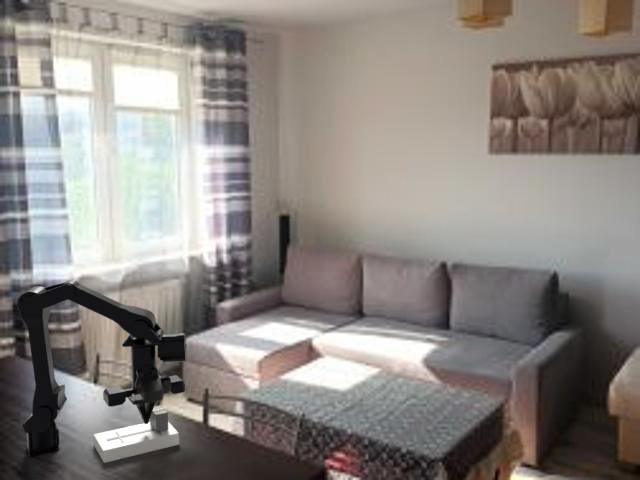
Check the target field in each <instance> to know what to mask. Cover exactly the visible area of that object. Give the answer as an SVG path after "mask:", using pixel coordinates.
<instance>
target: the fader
mask: <svg viewBox="0 0 640 480" xmlns="http://www.w3.org/2000/svg"><path fill="white" fill-rule="evenodd" d="M149 422H150V425H151V426H152V428H153V429H154V430H155V431H156V432H160V431H165V430H168V422H169V412H168V411H167V410H166V408H165V407H164V406H163V405H157V406H154V408H153V410H152V413H151V416H150V419H149Z"/></svg>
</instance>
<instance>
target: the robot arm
mask: <svg viewBox="0 0 640 480" xmlns="http://www.w3.org/2000/svg"><path fill="white" fill-rule="evenodd" d="M65 301H71V302H73V303H74V304H77V305H78V306H81V307H84V308H85V309H88V310H90V311H91V312H94V313H96V314H99V315H100V316H103V317H104V318H107V319H109V320H111V321H113V322H114V323H116V324H117V325H118V326H119V327H120V328H121V329H122V330H124V331H125V332H126V333H127V334H129V335H128V336H127V338H125V340H124V341H123V343H122V345H121V346H122V347H124V348H126V347H127V348H129V347H130V355H131V357H130V358H131V364H130V369H131V378H132V379H131V386H132V387H131V388H127V389H123V387H121V386H120V385H116V386H112V387H107V388H105V389H104V390H103V392H102V396H103V397H102V398H103V401H104V402H105V403H106V405H107V406H108V407H111V408H112V407H116V406H122V405H124V403H125V402H126V401H127V399H128V401H130V403H131V404H132V405H135V406H136V408H137V410H138V412H139V414H140V418H141V419H142V422H143V423H144V424H148V422H150V416H151V413H152V410H153V408H154V407H156V406H155V405H156V404H157V403H158V402H159V401H162V400H163V399H164V394H168V393H170V392H171V394H173V395H175V394H181V393H185V392H186V383H185V381H184V380H183V379H182V378H181V377H180V376H178V375H176V374H175V375H171V376H170V375H169V376H166V377H165V376H164V377H160V376H159V371H158V367H157V358H158V359H159V360H160V361H162V363H179V362H181V363H182V362H187V359H188V357H187V356H188V343H187V339H186V333H185V332H180V333H173V334H171V333H170V334H165V331H164V330H163V328H161V326H160V325H159V324H158V323H157V319H156V316H155V314H154V312H152V311H151V310H148V309H145V308H142V307H138V306H134V305H127V304H123V303H121V302H119V301H117V300H114V299H113V298H110V297H108V296H106V295H105V294H102V293H100V292H98V291H95V290H94V289H91V288H89V287H87V286H85V285H83V284H81V283H79V281H76V280H74V279H70V280H66V281H65V282H62V283H61V282H60V283H57V284H52V285H50V286H49V285H48V286H45V287H43V286H39V285H37V286H32V287H31V288H29V289H28V290H26V291H25V292H23V293H22V294H20V296H19V298H17V302H16V306H17V309H18V312H19V316H20V318H21V320H22V322H23V324H24V325H25V326H26V330H27V332H28V333H27V334H28V339H29V340H28V341H29V348H30V354H31V361H32V362H31V363H32V368H33V376H34V383H35V384H34V385H35V388H34V391H33V392H34V393H33V397H32V407H31V408H32V411H31V413H30V414H29V416H28V417H27V418H26V420H25V421H24V422H23V424H22V429H23V430H24V432H25V433H26V445H25V447H26V451H27V453H28V456H29V458H32V457H33V458H34V457H38V456H43V455H45V454H46V455H47V454H49V453H55V452H59V450H60V449H59V446H60V429H59V427H58V425H57V424H56V422H55V420H56V419H57V418H58V416H59V414H60V413H61V411H62V410H63V408H64V406H65V403H66V402H67V400H68V398H67V396H66V393H65V391H66V384H61V385H59V383H58V382H57V380H56V377H55V376H56V375H55V369H54V362H53V361H54V360H53V354H52V346H51V339H50V338H51V337H50V331H49V319H50V315H51V307H52V306H54V305H57V304H60V303H62V302H65ZM156 346H157V350H156ZM156 353H157V354H156ZM156 355H157V356H156Z"/></svg>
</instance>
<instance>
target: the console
mask: <svg viewBox="0 0 640 480" xmlns="http://www.w3.org/2000/svg"><path fill="white" fill-rule="evenodd" d="M179 445H180V433H179V431H177V429H176V428H175V427H174V426H173V425H172V424H171V423H170V422H169V421H168V430H165V431H160V432H156V431H155V430H154V429H153V428H152V426H151V425H150V421H149V422H148V424H144V422H143V423H139V424H138V423H137V424H134V425H130V426H125V427H120V428H115V429H112V430H106V431H102V432H98V433H94V434H93V447H94V448H95V450H96V452H97V453H98V456H99V457H100V459H101V460H102V462H103V464H105V463H109V462H110V463H111V462H114V461H118V460H120V459H125V458H130V457H134V456H137V455H142V454H146V453H149V452H154V451H158V450H162V449H166V448H170V447H174V446H179Z"/></svg>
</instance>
